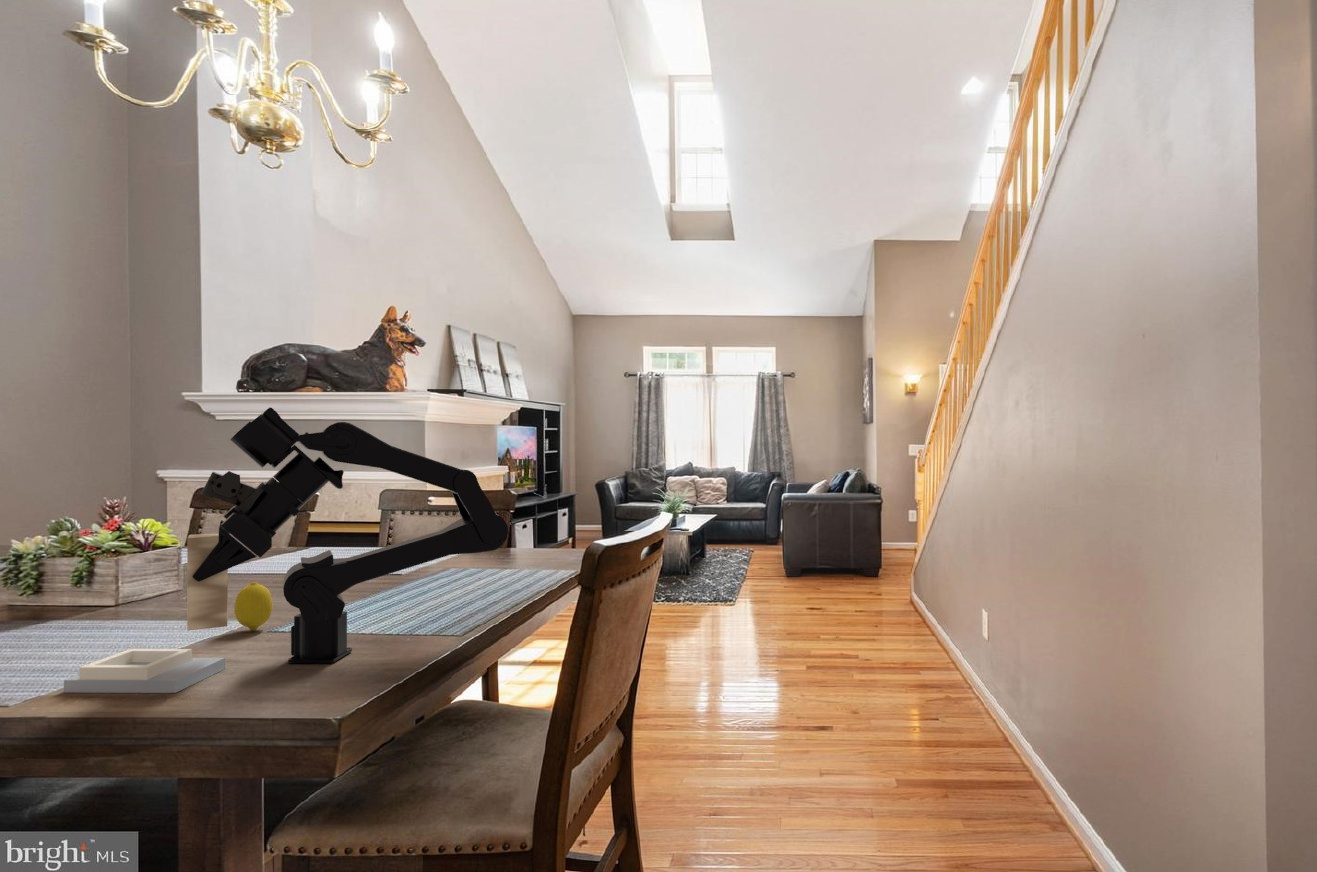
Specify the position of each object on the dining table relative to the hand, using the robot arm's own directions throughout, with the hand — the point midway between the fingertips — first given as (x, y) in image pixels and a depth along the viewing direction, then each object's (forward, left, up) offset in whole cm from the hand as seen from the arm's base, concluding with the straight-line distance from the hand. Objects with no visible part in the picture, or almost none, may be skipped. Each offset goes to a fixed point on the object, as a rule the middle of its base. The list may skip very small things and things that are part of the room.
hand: (196, 576), depth 99 cm
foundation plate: (+4, +3, -13) cm, 14 cm away
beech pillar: (-1, -1, -7) cm, 7 cm away
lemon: (+6, -24, -13) cm, 28 cm away
